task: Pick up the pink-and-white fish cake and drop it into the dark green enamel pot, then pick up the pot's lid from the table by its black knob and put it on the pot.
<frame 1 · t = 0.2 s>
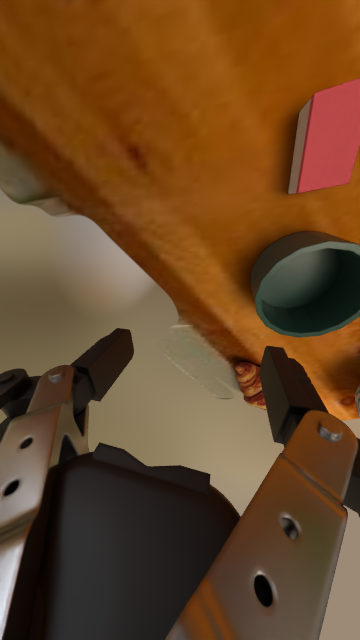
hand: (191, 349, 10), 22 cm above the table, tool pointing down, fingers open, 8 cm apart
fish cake: (315, 151, 19), on the table
croissant: (262, 381, 42), on the table
pot: (292, 275, 27), on the table
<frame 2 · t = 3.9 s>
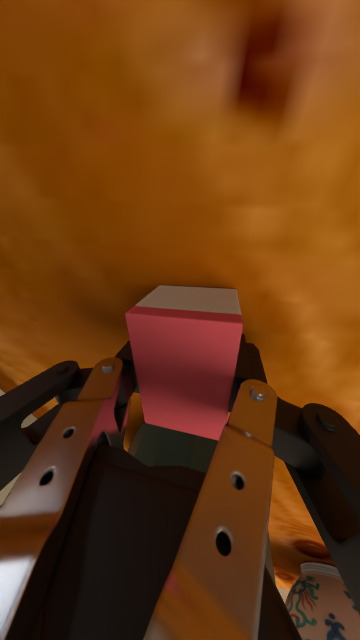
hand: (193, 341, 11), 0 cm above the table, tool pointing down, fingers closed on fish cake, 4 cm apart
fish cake: (194, 338, 11), on the table, touching gripper
chinaware: (327, 570, 23), on the table
pot: (193, 454, 18), on the table
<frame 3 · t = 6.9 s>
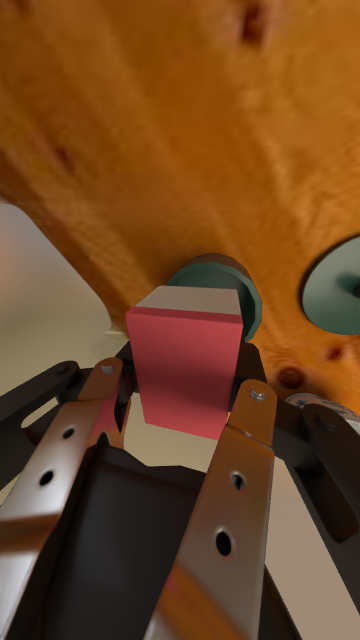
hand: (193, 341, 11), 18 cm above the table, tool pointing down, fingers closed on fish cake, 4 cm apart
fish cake: (194, 339, 11), point 17 cm above the table, touching gripper
chinaware: (302, 403, 33), on the table
pot: (211, 294, 27), on the table
when the fingers open (5 cm above the table, at t = 10.4 s): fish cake drops 4 cm, resting on pot.
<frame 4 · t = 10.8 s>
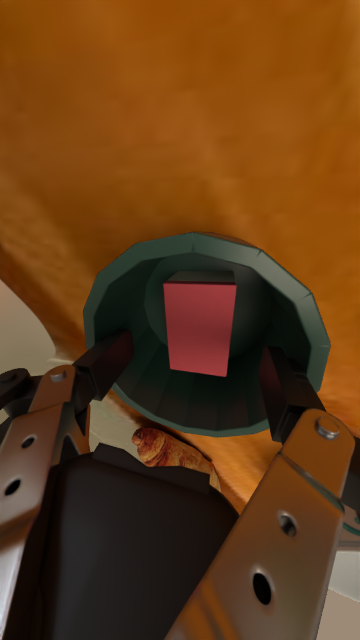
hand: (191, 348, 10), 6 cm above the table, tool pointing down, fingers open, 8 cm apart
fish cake: (204, 311, 15), point 1 cm above the table, touching pot
chinaware: (348, 477, 21), on the table
croissant: (183, 455, 28), on the table
pot: (203, 309, 16), on the table
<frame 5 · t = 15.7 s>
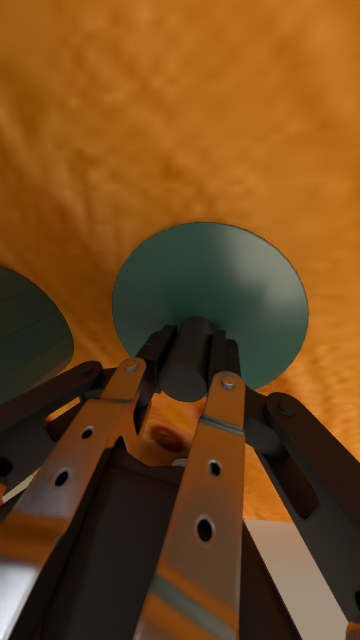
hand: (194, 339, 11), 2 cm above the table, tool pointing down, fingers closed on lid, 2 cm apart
lid: (198, 327, 13), point 1 cm above the table, touching gripper
pot: (22, 325, 18), on the table
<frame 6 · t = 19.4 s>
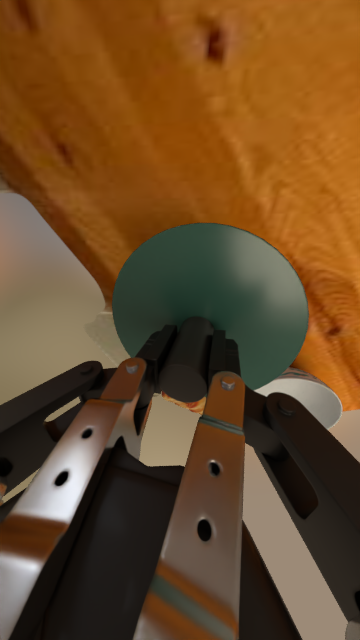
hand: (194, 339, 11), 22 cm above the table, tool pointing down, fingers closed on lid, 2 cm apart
lid: (198, 327, 13), point 20 cm above the table, touching gripper
chinaware: (277, 377, 37), on the table
croissant: (181, 379, 44), on the table
when the fingers open (9 cm above the table, at t = 22.9 s): lid stays where it is, resting on pot.
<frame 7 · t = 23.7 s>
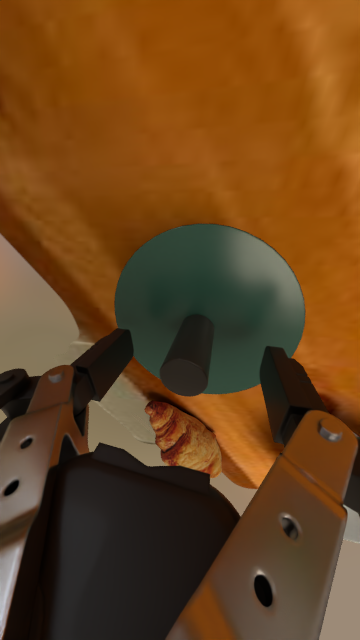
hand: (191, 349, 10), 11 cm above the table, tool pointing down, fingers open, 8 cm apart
lid: (198, 325, 13), point 7 cm above the table, touching pot
chinaware: (330, 439, 25), on the table
croissant: (188, 428, 32), on the table
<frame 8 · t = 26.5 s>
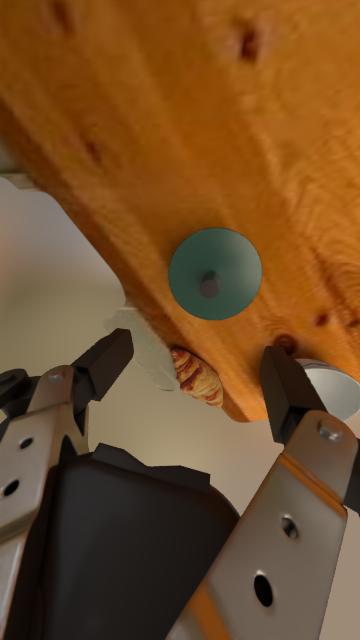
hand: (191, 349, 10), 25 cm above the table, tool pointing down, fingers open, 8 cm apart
lid: (212, 278, 25), point 7 cm above the table, touching pot
chinaware: (295, 370, 38), on the table
croissant: (198, 373, 45), on the table
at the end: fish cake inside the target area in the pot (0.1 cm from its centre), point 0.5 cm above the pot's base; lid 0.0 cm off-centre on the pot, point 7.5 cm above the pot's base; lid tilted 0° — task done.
